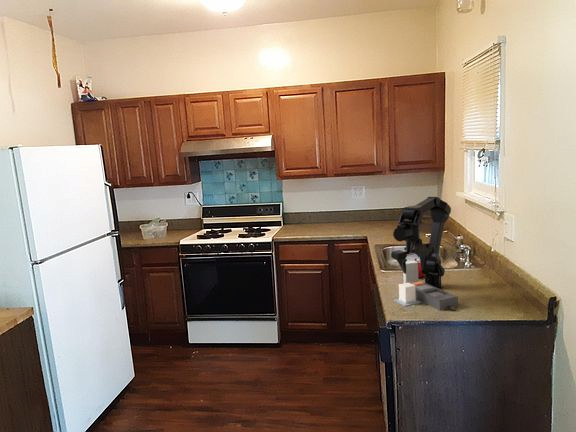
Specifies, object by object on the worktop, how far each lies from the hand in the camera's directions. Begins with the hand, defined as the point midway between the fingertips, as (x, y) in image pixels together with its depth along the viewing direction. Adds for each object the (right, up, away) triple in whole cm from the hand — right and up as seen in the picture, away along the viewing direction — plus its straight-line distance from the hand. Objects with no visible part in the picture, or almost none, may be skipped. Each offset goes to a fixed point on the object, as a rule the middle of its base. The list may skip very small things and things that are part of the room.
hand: (413, 271), depth 190 cm
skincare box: (+3, -9, +16) cm, 19 cm away
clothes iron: (+48, +12, +138) cm, 147 cm away
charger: (-4, -12, -3) cm, 13 cm away
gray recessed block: (+7, -12, -4) cm, 15 cm away
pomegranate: (+10, -7, +31) cm, 33 cm away
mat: (-4, -12, -3) cm, 13 cm away
